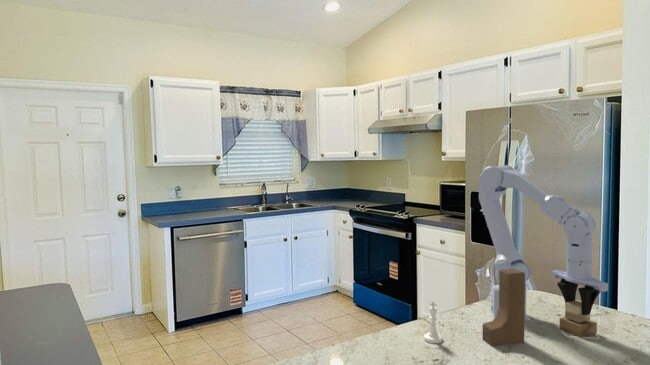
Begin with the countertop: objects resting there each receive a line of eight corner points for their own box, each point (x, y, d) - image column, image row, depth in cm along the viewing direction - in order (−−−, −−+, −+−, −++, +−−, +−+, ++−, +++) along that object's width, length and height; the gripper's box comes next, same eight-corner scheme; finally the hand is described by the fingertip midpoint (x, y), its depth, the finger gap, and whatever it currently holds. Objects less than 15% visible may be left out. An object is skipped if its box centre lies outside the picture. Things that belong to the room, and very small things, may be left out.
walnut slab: (579, 337, 113) (580, 325, 112) (559, 329, 118) (559, 318, 118) (596, 333, 115) (596, 322, 115) (575, 325, 120) (575, 314, 120)
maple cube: (578, 322, 114) (578, 307, 113) (565, 317, 117) (565, 302, 117) (589, 319, 115) (589, 304, 115) (576, 314, 119) (576, 300, 118)
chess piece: (430, 334, 117) (430, 296, 117) (446, 339, 114) (446, 300, 113) (419, 339, 114) (419, 301, 113) (436, 345, 110) (436, 305, 110)
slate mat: (541, 341, 112) (541, 339, 112) (530, 325, 123) (530, 323, 123) (607, 345, 109) (608, 343, 109) (590, 328, 120) (590, 326, 119)
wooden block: (491, 348, 108) (492, 274, 107) (481, 340, 113) (482, 270, 112) (524, 344, 110) (525, 272, 109) (513, 337, 114) (514, 268, 113)
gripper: (544, 255, 121) (543, 305, 121) (594, 267, 107) (593, 323, 108) (563, 253, 123) (562, 301, 124) (614, 264, 110) (613, 319, 111)
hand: (578, 311), depth 116 cm, fingers closed on maple cube, 4 cm apart
